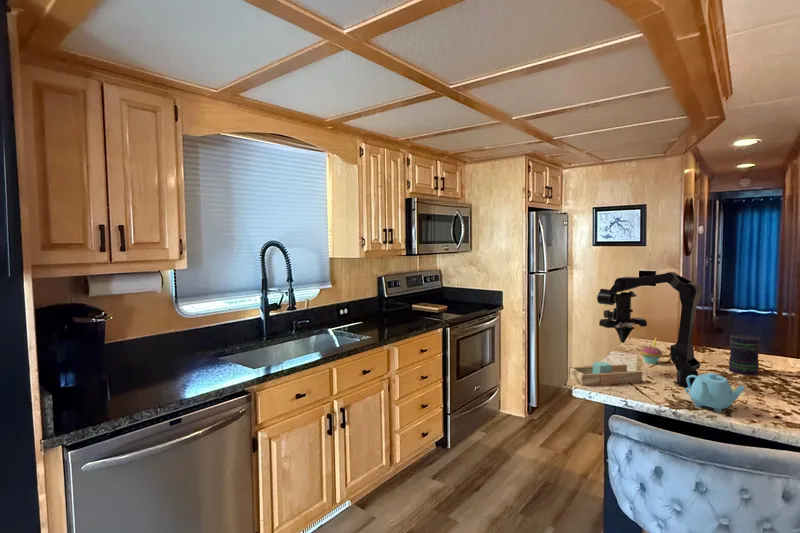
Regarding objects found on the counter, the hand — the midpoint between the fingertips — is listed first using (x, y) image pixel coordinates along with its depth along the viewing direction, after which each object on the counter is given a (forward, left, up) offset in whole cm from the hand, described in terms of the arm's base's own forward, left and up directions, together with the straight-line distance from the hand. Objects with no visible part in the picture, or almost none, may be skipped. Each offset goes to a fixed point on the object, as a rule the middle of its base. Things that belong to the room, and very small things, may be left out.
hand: (622, 342), depth 187 cm
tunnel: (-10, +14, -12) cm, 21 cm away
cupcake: (+8, -20, -12) cm, 25 cm away
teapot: (-42, -4, -12) cm, 44 cm away
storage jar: (-11, -48, -12) cm, 51 cm away
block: (-10, +16, -10) cm, 21 cm away
